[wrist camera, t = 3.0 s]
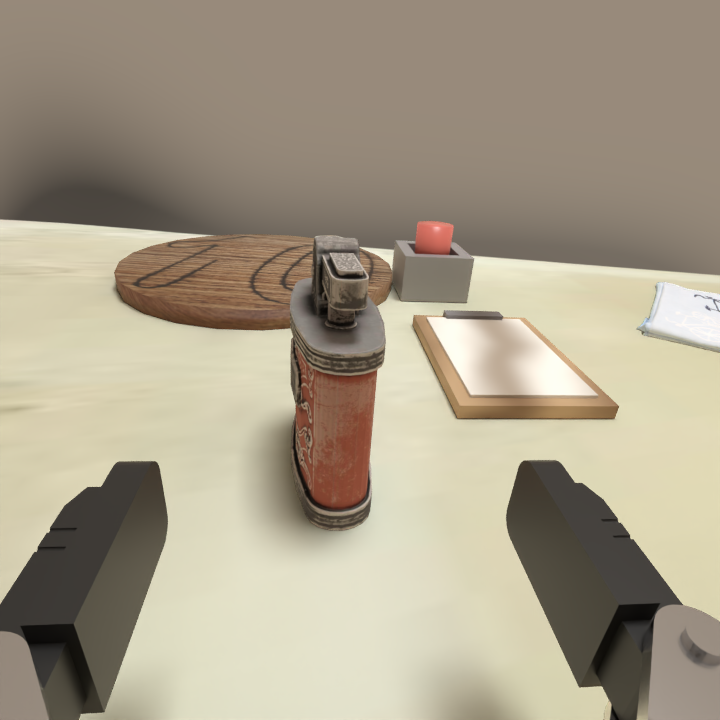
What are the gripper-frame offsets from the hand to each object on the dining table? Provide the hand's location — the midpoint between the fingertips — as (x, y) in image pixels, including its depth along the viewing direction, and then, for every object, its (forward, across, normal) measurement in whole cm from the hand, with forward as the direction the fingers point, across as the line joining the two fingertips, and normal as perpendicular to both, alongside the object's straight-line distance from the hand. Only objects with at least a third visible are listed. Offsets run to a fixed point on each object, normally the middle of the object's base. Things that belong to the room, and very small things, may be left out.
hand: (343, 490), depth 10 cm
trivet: (+36, +6, +7) cm, 37 cm away
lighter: (+9, 0, +7) cm, 11 cm away
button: (+34, -10, +5) cm, 36 cm away
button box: (+34, -10, +6) cm, 36 cm away
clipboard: (+19, -12, +6) cm, 23 cm away
